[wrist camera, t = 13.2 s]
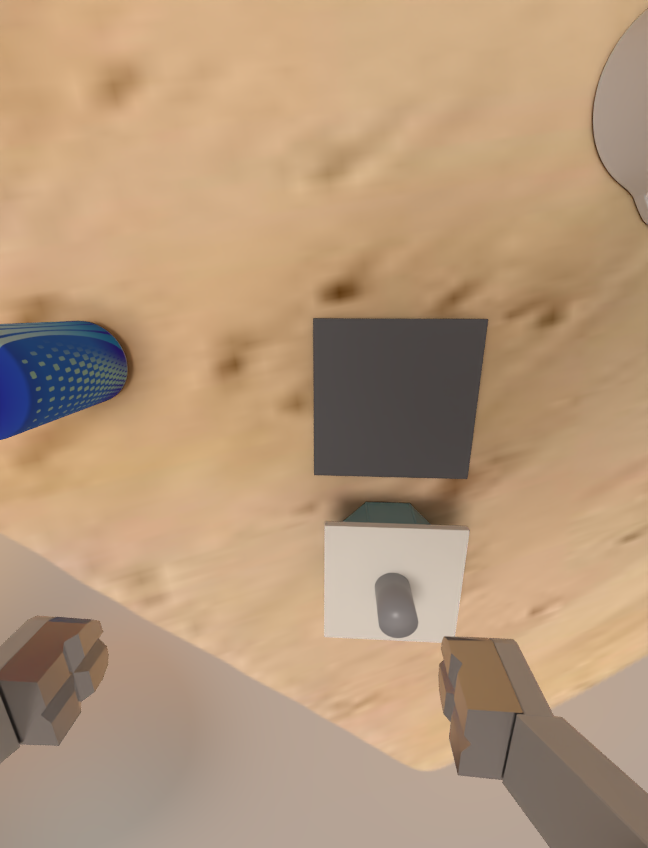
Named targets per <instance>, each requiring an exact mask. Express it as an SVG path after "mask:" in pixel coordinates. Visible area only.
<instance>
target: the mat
mask: <svg viewBox="0 0 648 848" xmlns="http://www.w3.org/2000/svg"><path fill="white" fill-rule="evenodd" d="M487 325H488V319H330V318H313V361H314V475H333V476H372V477H411V478H449V479H467V478H468V471H469V463H470V455H471V448H472V440H473V432H474V425H475V417H476V409H477V402H478V394H479V386H480V378H481V371H482V363H483V355H484V348H485V340H486V332H487Z"/></svg>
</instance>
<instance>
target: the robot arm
mask: <svg viewBox="0 0 648 848" xmlns="http://www.w3.org/2000/svg"><path fill="white" fill-rule="evenodd" d="M593 130H594V138H595V143H596V147H597V150H598V153H599V156H600V158H601V160H602V162H603V164H604V166H605V167H606V169H607V170H608V172H609V173H610V174H611V175H612V177H613V178H614V179H615V180H616V181H617V182H619V183H620V184H621V185H622V186H623V187H624V188H626V189H627V190H628V191H629V192H630V193H631V195H632V196H633V197H634V200H635V203H636V206H637V208H638V211H639V213H640V215H641V217H642V219H643V221H644V222H645V223H646V224H648V8H647V9H646V10H645V11H644V12H643V13H642V14H641V15H640V16H639V17H638V18H637V19H636V20H635V21H634V22H633V23H632V24H631V25H630V27H629V28H628V29H627V30H626V32H625V33H624V34H623V36H622V37H621V38H620V40H619V41H618V43H617V44H616V46H615V48H614V49H613V51H612V53H611V55H610V57H609V58H608V61H607V63H606V65H605V67H604V70H603V72H602V75H601V78H600V81H599V84H598V87H597V91H596V96H595V102H594V110H593ZM102 633H103V630H102V626H101V623H100V621H97V620H90V619H77V618H64V617H47V616H35V617H33V618H31V619H29V620H27V621H26V622H25V623H24V624H23V625H22V626H21V627H20V628H19V629H18V630H17V631H16V632H15V633H14V634H13V635H12V636H10V638H8V639H7V640H6V641H5V642H4V643H3V644H2V645H1V646H0V763H1V762H3V761H4V760H5V759H6V758H7V757H8V756H10V755H11V754H12V753H13V752H15V751H16V750H17V749H18V748H19V747H20V745H19V744H27V745H54V746H56V745H57V746H59V745H60V743H61V741H62V740H63V739H64V737H65V736H66V734H67V733H68V731H69V730H70V728H71V727H72V725H73V724H74V722H75V721H76V719H77V718H78V716H79V715H80V713H81V702H82V701H83V700H84V699H86V698H87V697H88V696H90V695H91V694H92V693H94V692H95V691H96V689H97V687H98V686H99V684H100V682H101V681H102V680H103V677H104V674H105V671H106V669H107V666H108V656H109V654H108V649H107V646H106V645H105V644H104V643H103V642H102V641H101V640H100V639H99V637H100V636H101V634H102ZM441 651H442V655H443V659H444V660H443V661H442V662H441V663H440V664H439V674H438V678H439V692H440V699H441V704H442V709H443V713H444V715H445V716H446V717H447V718H448V720H449V721H450V722H451V725H450V733H449V739H450V744H451V748H452V752H453V756H454V760H455V765H456V769H457V773H458V775H461V776H470V777H480V778H489V779H498V780H503V782H502V783H503V784H504V786H505V787H506V788H507V790H508V791H509V792H510V794H511V795H512V796H513V798H514V799H515V800H516V802H517V803H518V805H519V806H520V807H521V809H522V810H523V812H524V813H525V814H526V816H527V817H528V818H529V820H530V821H531V822H532V824H533V825H534V826H535V828H536V829H537V831H538V832H539V833H540V835H541V836H542V837H543V839H544V840H545V841H546V843H547V844H548V846H549V847H550V848H648V793H647V792H645V791H644V790H643V789H642V788H641V787H640V786H639V785H637V784H636V783H635V782H634V781H633V780H632V779H631V778H630V777H628V775H626V774H625V773H624V772H623V771H622V770H620V768H619V767H617V766H616V765H615V764H614V763H613V762H612V761H611V760H609V759H608V758H607V757H606V756H605V755H604V754H603V753H602V752H600V751H599V750H598V749H597V748H596V747H595V746H594V745H593V744H592V743H590V742H589V741H588V740H587V739H586V738H585V737H584V736H583V735H581V734H580V733H579V732H578V731H577V730H576V729H575V728H574V727H573V726H571V725H570V724H569V723H568V722H567V721H566V720H565V719H563V718H562V717H556V716H554V715H553V713H552V711H551V709H550V707H549V705H548V703H547V701H546V699H545V697H544V695H543V693H542V691H541V689H540V687H539V685H538V683H537V681H536V679H535V677H534V675H533V673H532V671H531V670H530V668H529V666H528V664H527V662H526V660H525V658H524V656H523V654H522V652H521V650H520V648H519V646H518V644H517V643H516V642H515V641H514V640H513V639H498V638H489V639H488V638H479V637H451V636H444V637H443V639H442V645H441Z"/></svg>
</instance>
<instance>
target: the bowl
mask: <svg viewBox="0 0 648 848" xmlns="http://www.w3.org/2000/svg"><path fill="white" fill-rule="evenodd" d="M343 522H364V523H395V524H426V525H431V524H430V523H429V522H428V521H427V520H426V519H425V518H424V517H423V516H422V515H421V514H420V513H419V512H418V511H417V510H416V509H415V508H414V507H413V506H412V505H411V503H384V502H365V503H364V504H363V505H362V506H361V507H360V508H358V509H357V510H356V511H355V512H354V513H352V514H351V515H350V516H349V517H348V518H346V519H345V520H344V521H343Z"/></svg>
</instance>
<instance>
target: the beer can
mask: <svg viewBox="0 0 648 848" xmlns="http://www.w3.org/2000/svg"><path fill="white" fill-rule="evenodd" d="M127 372H128V367H127V359H126V356H125V353H124V351H123V349H122V347H121V346H120V344H119V343H118V341H117V340H116V339H115V338H114V337H113V335H111V334H110V333H109V332H108V331H107V330H105V329H104V328H102V327H100V326H98V325H96V324H94V323H90V322H86V321H66V322H41V323H16V324H0V440H2V439H6V438H9V437H11V436H14V435H17V434H19V433H22V432H25V431H27V430H30V429H33V428H35V427H38V426H41V425H43V424H46V423H48V422H51V421H54V420H56V419H59V418H62V417H64V416H67V415H70V414H72V413H75V412H78V411H80V410H83V409H85V408H88V407H91V406H93V405H96V404H99V403H101V402H104V401H107V400H109V399H111V398H113V397H114V396H116V395H117V394H118V393H119V392H120V391H121V389H122V388H123V386H124V384H125V382H126V379H127Z"/></svg>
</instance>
